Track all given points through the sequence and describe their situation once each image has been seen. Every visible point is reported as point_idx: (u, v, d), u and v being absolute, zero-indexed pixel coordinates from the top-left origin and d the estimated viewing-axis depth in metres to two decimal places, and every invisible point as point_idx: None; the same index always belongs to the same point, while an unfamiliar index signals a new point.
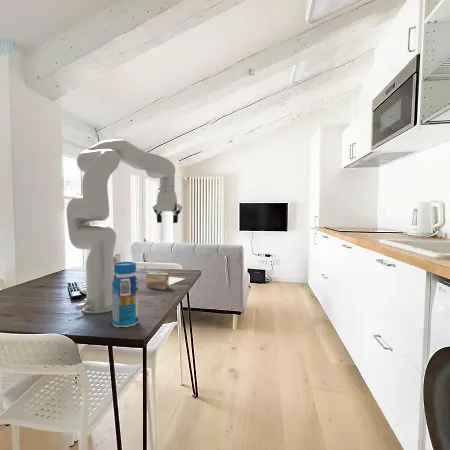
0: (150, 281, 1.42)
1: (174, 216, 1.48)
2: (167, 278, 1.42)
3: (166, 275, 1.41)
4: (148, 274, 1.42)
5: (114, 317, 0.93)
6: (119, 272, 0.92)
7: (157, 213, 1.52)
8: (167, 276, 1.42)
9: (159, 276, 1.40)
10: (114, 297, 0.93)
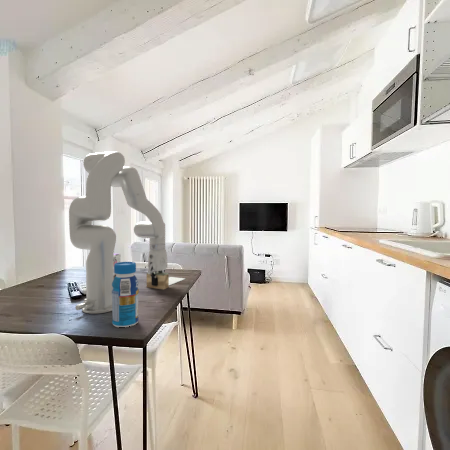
0: (150, 281, 1.42)
1: None
2: (167, 278, 1.42)
3: (166, 275, 1.41)
4: (148, 274, 1.42)
5: (114, 317, 0.93)
6: (119, 272, 0.92)
7: (156, 275, 1.40)
8: (167, 276, 1.42)
9: (159, 276, 1.40)
10: (114, 297, 0.93)
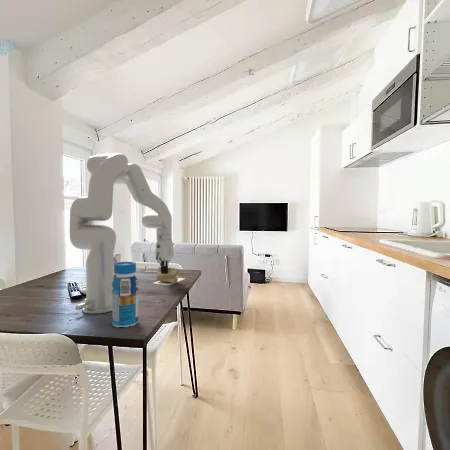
0: (161, 274, 1.51)
1: None
2: (177, 273, 1.51)
3: (177, 270, 1.51)
4: (160, 268, 1.52)
5: (114, 317, 0.93)
6: (119, 272, 0.92)
7: (165, 264, 1.47)
8: (178, 271, 1.52)
9: (170, 269, 1.50)
10: (114, 297, 0.93)
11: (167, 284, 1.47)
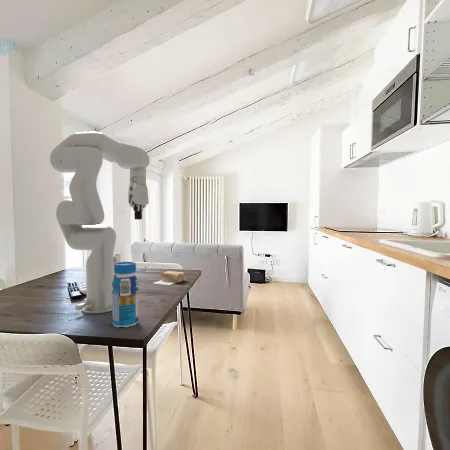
0: (168, 272, 1.57)
1: None
2: (182, 279, 1.56)
3: (183, 276, 1.57)
4: (169, 271, 1.60)
5: (114, 317, 0.93)
6: (119, 272, 0.92)
7: (139, 208, 1.41)
8: (183, 279, 1.56)
9: (179, 272, 1.58)
10: (114, 297, 0.93)
11: (167, 284, 1.47)
